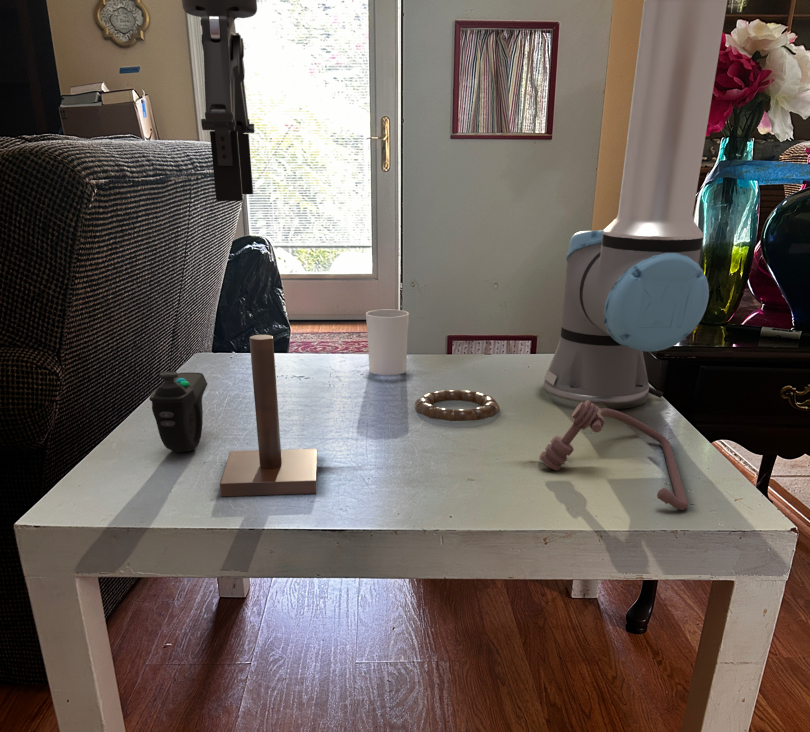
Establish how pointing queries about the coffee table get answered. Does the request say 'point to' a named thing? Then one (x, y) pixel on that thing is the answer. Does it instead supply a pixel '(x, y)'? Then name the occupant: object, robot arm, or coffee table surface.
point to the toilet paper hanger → (593, 417)
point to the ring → (487, 410)
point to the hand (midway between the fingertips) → (236, 197)
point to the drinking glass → (387, 341)
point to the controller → (179, 409)
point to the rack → (268, 441)
